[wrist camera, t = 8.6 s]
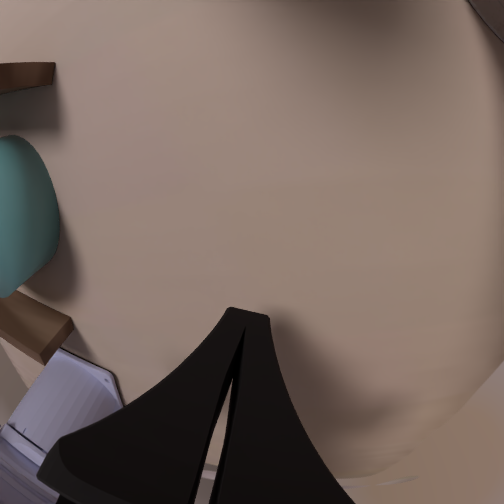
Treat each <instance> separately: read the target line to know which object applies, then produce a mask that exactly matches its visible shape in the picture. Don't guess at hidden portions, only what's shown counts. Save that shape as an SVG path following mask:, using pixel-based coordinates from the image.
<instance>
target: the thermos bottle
mask: <svg viewBox="0 0 504 504" xmlns="http://www.w3.org/2000/svg"><path fill="white" fill-rule="evenodd" d="M469 2H470V3H471V5H472V6H473V7H474V9H475V10H476V11H477V13H478V14H479V15H480V16H481V18H482V19H483V20H484V22H485V23H486V24H487V25H488V26H489V27H490V28H491V29H492V31H493V32H494V33H495V34H496V35H497V36H498V37H499V38H500V39H501V40H502V41H503V42H504V0H469Z"/></svg>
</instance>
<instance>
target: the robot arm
mask: <svg viewBox="0 0 504 504" xmlns="http://www.w3.org/2000/svg"><path fill="white" fill-rule="evenodd" d="M232 379H233V381H232ZM231 382H232V388H231V396H230V403H229V411H228V418H227V426H226V433H225V439H224V444H223V448H222V452H221V456H220V460H219V465H218V469H217V473H216V477H215V481H214V485H213V489H212V493H211V497H210V500H209V504H355V503H354V502H353V500H352V499H351V498H350V497H349V496H348V495H347V493H346V492H345V491H344V490H343V488H342V487H341V486H340V485H339V483H338V482H337V481H336V479H335V478H334V476H333V475H332V474H331V472H330V471H329V469H328V468H327V467H326V465H325V464H324V462H323V460H322V459H321V457H320V456H319V454H318V452H317V451H316V449H315V447H314V446H313V444H312V442H311V441H310V439H309V437H308V435H307V433H306V431H305V430H304V428H303V426H302V424H301V422H300V420H299V417H298V415H297V413H296V411H295V409H294V406H293V404H292V402H291V399H290V397H289V394H288V391H287V389H286V386H285V383H284V380H283V377H282V374H281V371H280V367H279V364H278V360H277V357H276V353H275V349H274V344H273V339H272V334H271V327H270V318H269V317H268V315H264V314H260V313H255V312H251V311H247V310H243V309H238V308H234V307H229V308H227V309H226V311H225V313H224V315H223V316H222V318H221V319H220V321H219V322H218V323H217V325H216V326H215V327H214V329H213V330H212V331H211V332H210V334H209V335H208V336H207V337H206V338H205V339H204V340H203V342H202V343H201V344H200V345H199V346H198V347H197V348H196V349H195V350H194V351H193V352H192V353H191V354H190V355H189V356H188V357H187V358H186V359H185V360H184V361H183V362H182V363H181V364H180V365H179V366H178V367H177V368H176V369H175V370H174V371H172V372H171V373H170V374H169V375H168V376H167V377H165V378H164V379H163V380H162V381H160V382H159V383H158V384H157V385H155V386H154V387H153V388H151V389H150V390H148V391H147V392H146V393H144V394H143V395H141V396H140V397H139V398H137V399H136V400H134V401H132V402H131V403H129V404H128V405H126V406H124V407H123V405H122V402H121V399H120V396H119V393H118V390H117V387H116V384H115V381H114V377H113V375H112V374H111V373H110V372H109V371H107V370H104V369H102V368H100V367H97V366H95V365H93V364H91V363H89V362H87V361H84V360H82V359H80V358H78V357H76V356H74V355H72V354H70V353H68V352H66V351H64V350H62V349H60V348H58V350H57V351H56V352H55V354H54V355H53V356H52V358H51V359H50V360H49V361H48V364H47V365H46V367H45V368H44V369H43V371H42V372H41V373H40V375H39V376H38V377H37V379H36V380H35V382H34V383H33V384H32V386H31V387H30V389H29V390H28V392H27V393H26V394H25V396H24V397H23V399H22V400H21V402H20V403H19V405H18V406H17V408H16V409H15V411H14V412H13V414H12V415H11V417H10V418H9V420H8V422H7V424H4V425H3V427H2V428H1V430H0V504H194V502H195V498H196V495H197V490H198V487H199V483H200V479H201V475H202V472H203V467H204V464H205V460H206V456H207V452H208V449H209V445H210V441H211V438H212V434H213V431H214V428H215V426H216V423H217V420H218V418H219V415H220V412H221V409H222V407H223V404H224V401H225V398H226V396H227V393H228V390H229V387H230V384H231ZM0 427H1V425H0Z"/></svg>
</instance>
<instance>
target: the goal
mask: <svg viewBox="0 0 504 504" xmlns="http://www.w3.org/2000/svg"><path fill="white" fill-rule="evenodd" d="M54 65H55V62H21V63H2V64H0V94H4V93H8V92H13V91H17V90H22V89H27V88H33V87H39V86H45V85H51V84H52V79H53V72H54ZM73 330H74V328H73V324H72V321H71V317H69V316H67V315H64V314H62V313H60V312H58V311H56V310H54V309H52V308H50V307H48V306H46V305H44V304H42V303H40V302H38V301H36V300H34V299H32V298H30V297H28V296H26V295H24V294H22V293H21V292H19V291H17V290H15V291H14V292H13V293H12V294H11V295H9V296H8V297H6V298H0V337H2V338H3V339H5V340H6V341H7V342H9V343H10V344H12V345H13V346H14V347H16V348H17V349H19V350H20V351H22V352H23V353H25V354H26V355H28V356H29V357H31V358H33V359H34V360H36V361H37V362H39V363H41V364H42V365H44V366H45V365H46V364H47V363H48V361H49V360H50V359H51V358H52V356H53V355H54V354H55V352H56V351H57V350H58V348H59V347H60V346H61V345H62V343H63V342H64V341H65V340H66V338H67V337H68V336H69V335H70V333H71V332H72V331H73Z"/></svg>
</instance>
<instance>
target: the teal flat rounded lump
mask: <svg viewBox="0 0 504 504" xmlns="http://www.w3.org/2000/svg"><path fill="white" fill-rule="evenodd" d="M59 231H60V223H59V211H58V205H57V199H56V195H55V191H54V188H53V184H52V181H51V178H50V176H49V173H48V171H47V169H46V166H45V164H44V162H43V160H42V159H41V157H40V155H39V154H38V152H37V151H36V150H35V148H34V147H33V146H32V145H31V144H30V143H29V142H28V141H26V140H25V139H24V138H22V137H20V136H16V135H8V136H4V137H1V138H0V298H6V297H8V296H9V295H11V294H12V293H13V292H14V291H15V290H16V289H17V288H18V287H19V286H21V285H22V284H23V283H24V282H25V281H26V280H27V279H29V278H30V277H31V276H32V275H33V274H34V273H36V272H37V271H38V270H39V269H40V268H42V267H43V266H44V265H45V264H47V263H48V262H49V261H50V260H51V259H52V257H53V256H54V254H55V252H56V249H57V246H58V241H59Z"/></svg>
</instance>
